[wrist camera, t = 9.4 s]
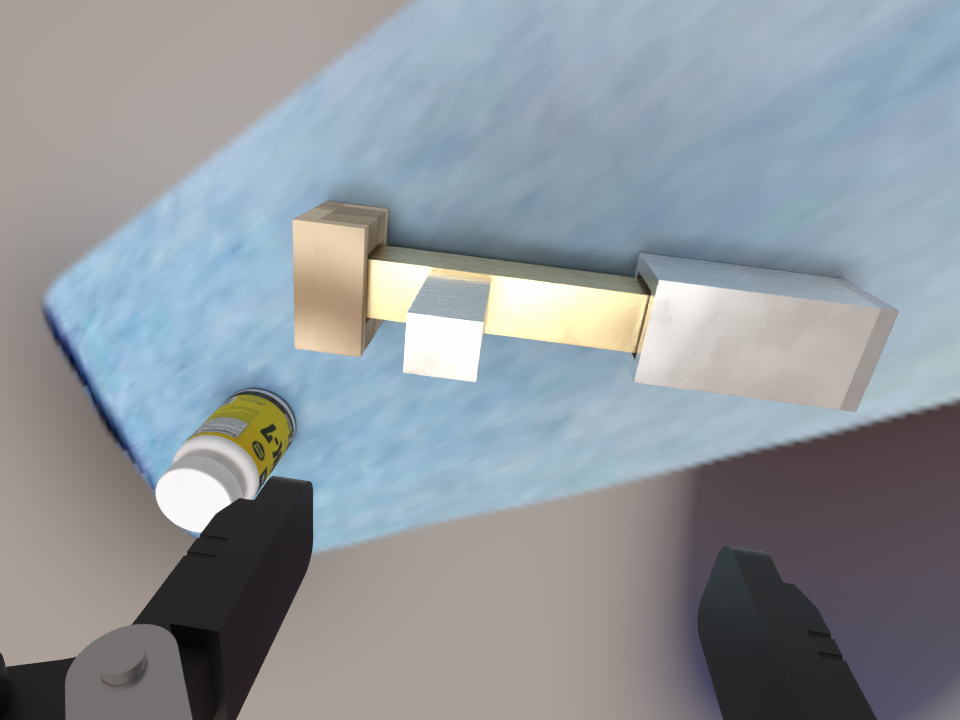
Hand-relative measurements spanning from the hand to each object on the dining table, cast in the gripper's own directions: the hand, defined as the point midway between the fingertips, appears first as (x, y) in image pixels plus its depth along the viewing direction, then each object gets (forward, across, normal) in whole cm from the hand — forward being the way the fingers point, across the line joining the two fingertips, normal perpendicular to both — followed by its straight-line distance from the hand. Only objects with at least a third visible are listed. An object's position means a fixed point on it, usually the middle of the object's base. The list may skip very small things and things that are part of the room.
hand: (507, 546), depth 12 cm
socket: (+22, +9, +2) cm, 24 cm away
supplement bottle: (+22, +15, +13) cm, 30 cm away
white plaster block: (+23, -11, +2) cm, 25 cm away
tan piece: (+22, +1, +2) cm, 22 cm away
